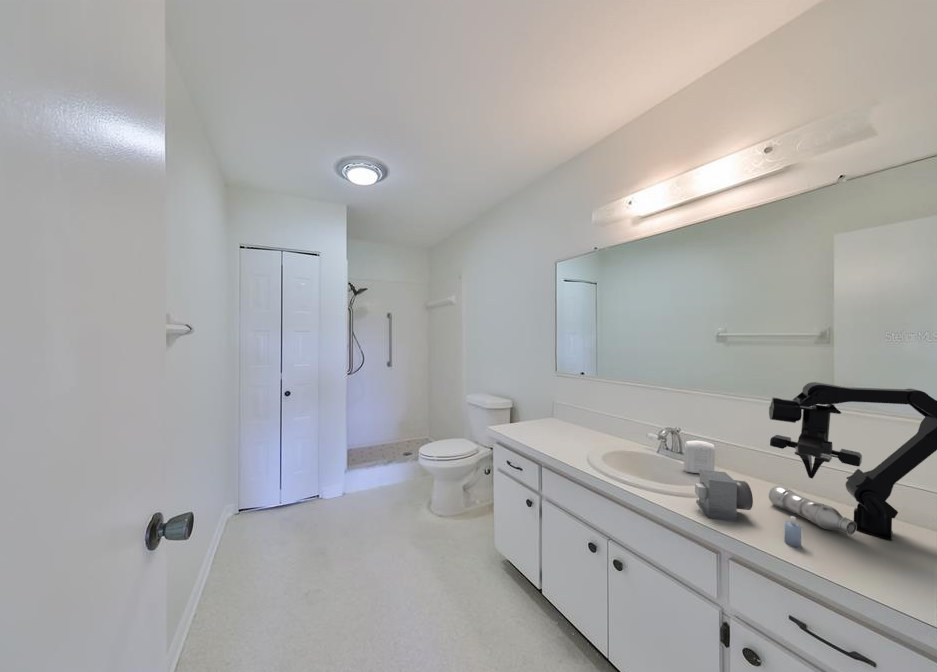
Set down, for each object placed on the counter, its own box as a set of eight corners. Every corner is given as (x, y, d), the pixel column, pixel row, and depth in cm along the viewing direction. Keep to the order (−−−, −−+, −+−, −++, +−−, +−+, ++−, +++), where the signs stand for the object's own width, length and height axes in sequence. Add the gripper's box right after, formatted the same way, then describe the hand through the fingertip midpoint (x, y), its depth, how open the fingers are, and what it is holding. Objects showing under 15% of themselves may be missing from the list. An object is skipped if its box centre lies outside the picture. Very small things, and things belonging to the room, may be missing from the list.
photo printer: (712, 471, 137) (712, 440, 137) (716, 476, 133) (716, 444, 133) (682, 468, 140) (682, 438, 140) (685, 472, 136) (685, 441, 136)
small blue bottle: (802, 544, 91) (802, 517, 91) (799, 549, 89) (800, 521, 89) (785, 538, 93) (786, 512, 93) (783, 543, 91) (783, 516, 91)
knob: (740, 502, 109) (740, 476, 109) (753, 515, 101) (753, 488, 101) (692, 496, 112) (692, 471, 112) (701, 508, 105) (701, 482, 105)
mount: (725, 505, 111) (725, 471, 111) (739, 522, 101) (740, 484, 101) (696, 502, 113) (696, 468, 113) (708, 517, 103) (708, 481, 103)
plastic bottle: (785, 494, 113) (865, 528, 94) (770, 508, 112) (848, 545, 93) (776, 479, 113) (854, 510, 93) (761, 492, 112) (837, 526, 92)
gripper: (767, 421, 105) (763, 472, 106) (859, 439, 90) (854, 498, 91) (776, 416, 112) (772, 464, 113) (864, 432, 97) (859, 487, 98)
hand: (811, 477), depth 103 cm, fingers closed
